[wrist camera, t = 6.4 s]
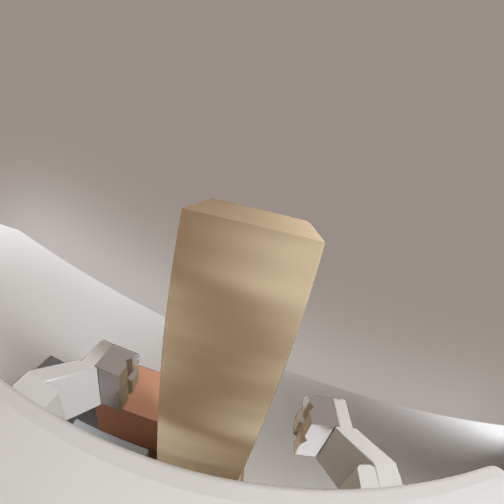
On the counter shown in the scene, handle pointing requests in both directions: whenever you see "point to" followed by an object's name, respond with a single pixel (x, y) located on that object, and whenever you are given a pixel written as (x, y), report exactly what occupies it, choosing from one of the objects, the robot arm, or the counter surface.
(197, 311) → the wooden inverted t block
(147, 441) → the salmon orange block
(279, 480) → the counter surface
